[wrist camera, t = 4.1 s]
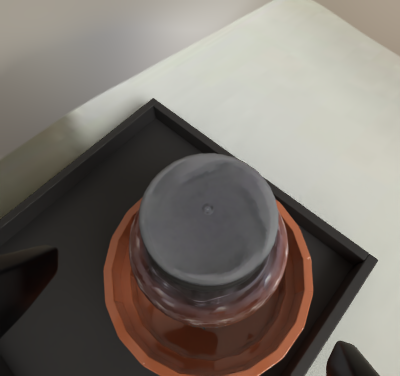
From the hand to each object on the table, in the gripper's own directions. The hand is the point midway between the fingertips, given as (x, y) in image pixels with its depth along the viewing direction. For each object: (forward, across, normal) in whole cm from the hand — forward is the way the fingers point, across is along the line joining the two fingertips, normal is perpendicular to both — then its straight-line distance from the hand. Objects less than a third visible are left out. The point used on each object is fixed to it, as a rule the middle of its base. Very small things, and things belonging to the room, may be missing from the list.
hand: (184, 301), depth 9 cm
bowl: (+8, 0, +5) cm, 10 cm away
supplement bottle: (+8, 0, +5) cm, 10 cm away
